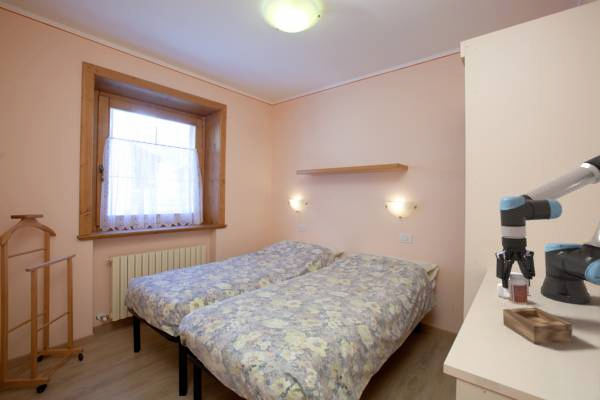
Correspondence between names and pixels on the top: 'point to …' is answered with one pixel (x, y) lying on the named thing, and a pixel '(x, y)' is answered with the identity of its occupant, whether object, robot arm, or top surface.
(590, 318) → the top surface
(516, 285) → the pill bottle
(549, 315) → the wooden box
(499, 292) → the power adapter
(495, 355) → the top surface
